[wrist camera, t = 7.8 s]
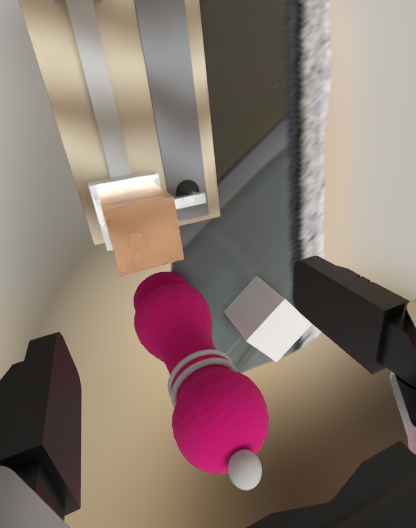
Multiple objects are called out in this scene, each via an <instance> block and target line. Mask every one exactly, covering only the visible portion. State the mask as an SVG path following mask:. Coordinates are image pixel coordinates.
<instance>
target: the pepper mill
mask: <svg viewBox="0 0 416 528" xmlns="http://www.w3.org/2000/svg"><path fill="white" fill-rule="evenodd" d="M134 307H135V311H136V314H135V317H134V326H135V331H136V333H137V336H138V338H139V340H140V342H141V344H142V345H143V346H144V347H145V348H146V349H147V350H148V351H149V352H150V353H151V354H152V355H154V356H155V357H156V358H158V359H160V360H161V361H163V362H164V363H165V364H166V367H167V369H168V371H169V373H170V377H169V380H168V392H169V395H170V397H171V401H172V404H173V406H174V408H175V409H174V412H173V416H172V428H173V433H174V438H175V440H176V442H177V445H178V447H179V449H180V451H181V453H182V454H183V456H184V457H185V458H186V460H187V461H188V462H189V463H190V464H192V465H193V466H194V467H196V468H197V469H200V470H201V471H205V472H208V473H213V474H219V473H227V472H229V476H230V479H231V480H232V482H233V483H234V484H235V485H236V486H237V487H238V488H240V489H242V490H249V489H252V488H254V487H255V486H256V485H257V484H258V483H259V481H260V478H261V474H262V469H261V464H260V461H259V459H258V457H257V456H256V453H257V452H258V451H259V450H260V448H261V447H262V445H263V443H264V441H265V438H266V435H267V431H268V420H269V416H268V411H267V406H266V403H265V400H264V398H263V396H262V394H261V392H260V390H259V389H258V388H257V386H256V385H255V384H254V383H253V382H252V381H251V380H250V379H249V378H248V377H247V376H245V375H243V374H241V373H239V372H237V369H236V367H235V366H234V365H233V364H232V362H231V360H230V358H229V357H228V356H227V355H226V354H225V353H223V352H221V351H219V350H216V349H215V347H214V345H213V342H212V319H211V313H210V309H209V306H208V304H207V302H206V300H205V299H204V297H203V296H202V294H201V293H200V292H199V291H198V290H196V289H195V288H193V287H192V286H190V285H189V284H188V283H187V281H186V280H185V279H184V278H183V277H182V276H180V275H178V274H176V273H173V272H159V273H155V274H153V275H151V276H149V277H148V278H146V279H145V280H144V281H143V282H142V283H141V284H140V285H139V286H138V288H137V290H136V292H135V295H134Z"/></svg>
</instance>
